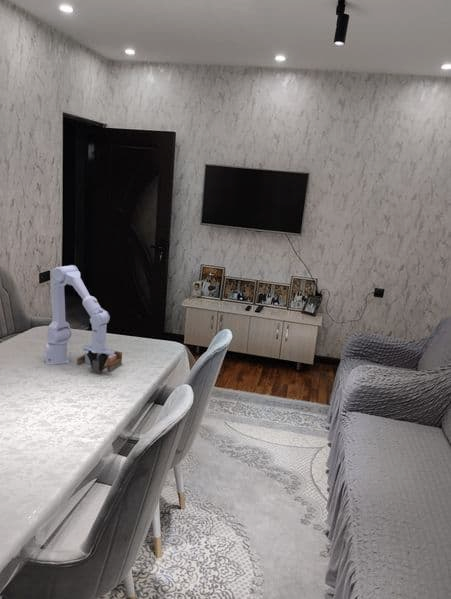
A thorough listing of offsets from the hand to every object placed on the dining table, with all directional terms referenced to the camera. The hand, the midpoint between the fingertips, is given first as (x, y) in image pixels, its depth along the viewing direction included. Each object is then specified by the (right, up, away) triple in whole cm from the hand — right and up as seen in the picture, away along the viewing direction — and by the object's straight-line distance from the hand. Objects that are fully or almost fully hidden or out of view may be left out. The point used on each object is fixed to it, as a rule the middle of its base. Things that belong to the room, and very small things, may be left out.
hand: (97, 368), depth 200 cm
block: (-5, +1, +10) cm, 11 cm away
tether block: (+1, -1, +5) cm, 5 cm away
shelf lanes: (-2, +1, +8) cm, 8 cm away
